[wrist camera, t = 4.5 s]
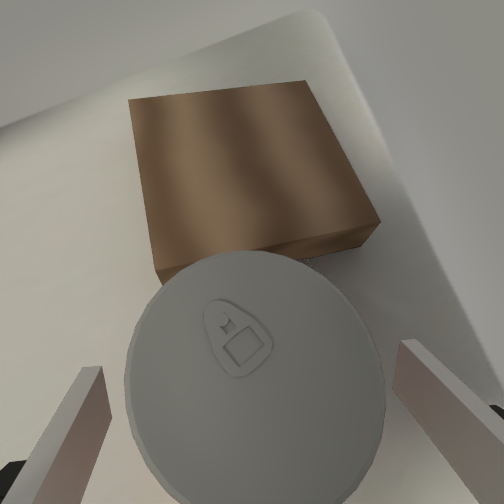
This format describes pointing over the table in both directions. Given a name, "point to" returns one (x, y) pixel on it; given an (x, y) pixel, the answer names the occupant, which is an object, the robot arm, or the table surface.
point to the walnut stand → (245, 176)
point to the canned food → (254, 384)
